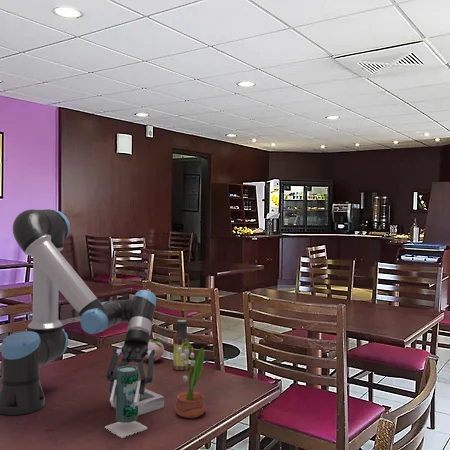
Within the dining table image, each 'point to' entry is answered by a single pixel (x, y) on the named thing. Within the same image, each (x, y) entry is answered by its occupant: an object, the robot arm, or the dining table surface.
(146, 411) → the collar
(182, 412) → the potted flower
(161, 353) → the decorative fruit
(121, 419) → the can
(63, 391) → the dining table surface
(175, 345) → the sauce bottle
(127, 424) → the tile
